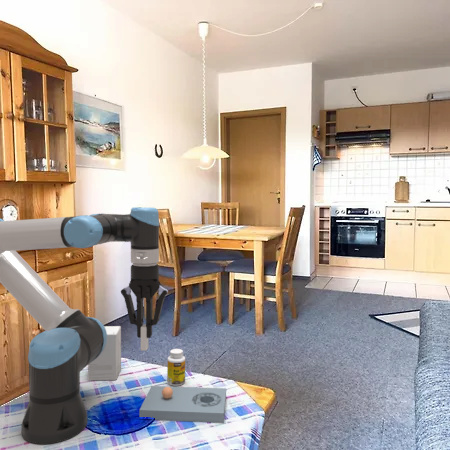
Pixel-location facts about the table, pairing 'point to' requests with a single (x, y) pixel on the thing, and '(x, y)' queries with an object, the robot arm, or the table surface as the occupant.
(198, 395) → the plate
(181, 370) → the supplement bottle
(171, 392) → the ball
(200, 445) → the table surface
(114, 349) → the supplement box
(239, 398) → the table surface
